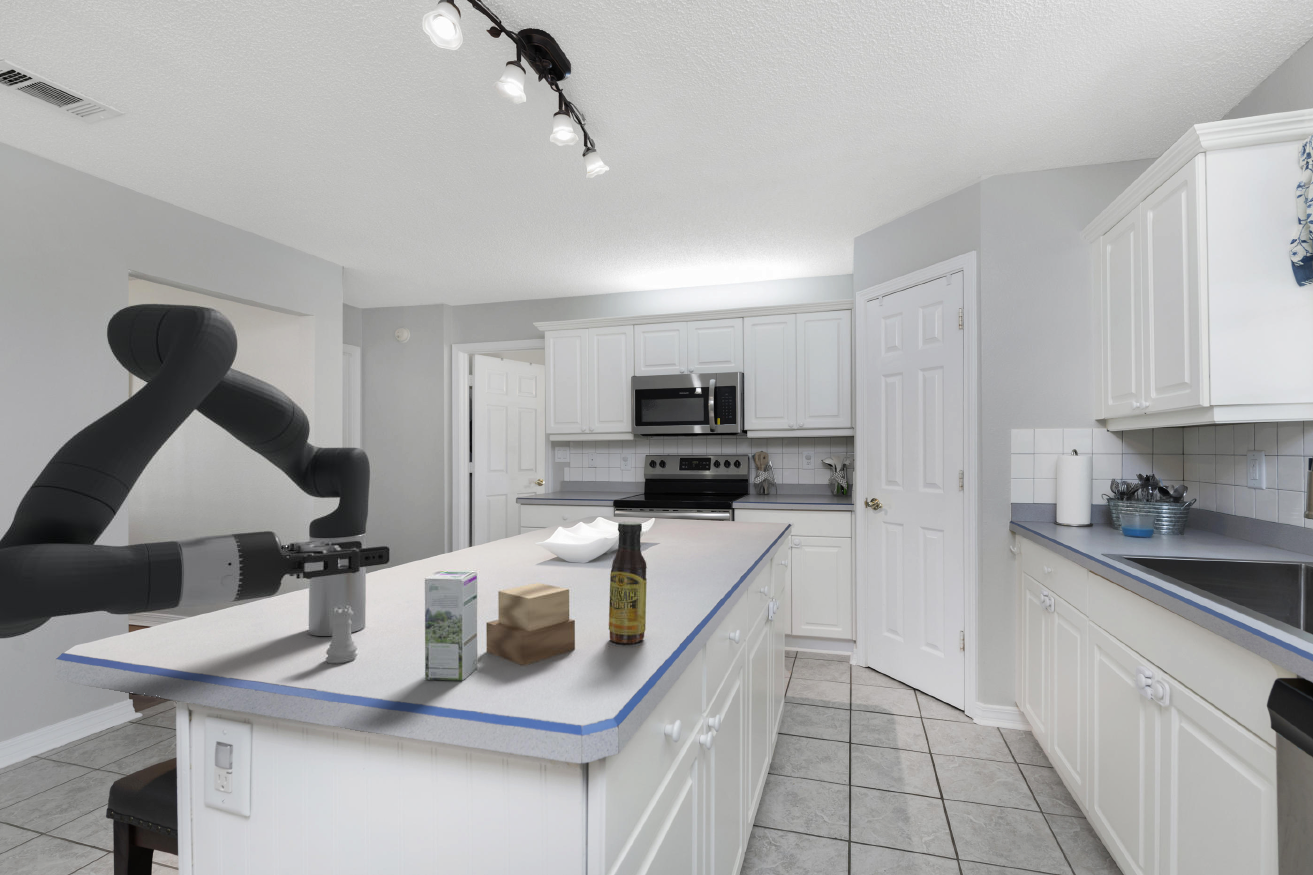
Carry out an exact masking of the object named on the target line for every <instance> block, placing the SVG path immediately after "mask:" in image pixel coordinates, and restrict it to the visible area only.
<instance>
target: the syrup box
mask: <svg viewBox="0 0 1313 875" xmlns="http://www.w3.org/2000/svg"><path fill="white" fill-rule="evenodd" d="M424 665H425V666H424V668H425V669H424V674H425V675H424V677H425V678H424V679H425V680H426V681H427V680H429V681H430V680H431V681H464V680H465V679H466V678H468V677H469V676H470V675H472V673H473V672H475V671H476V670H477V669H478V666H479V657H478V572H477V571H476V570H474V571H473V570H464V571H463V570H439V571H436V572H433V573H432V574H430V575H428V576H427V577H425V578H424Z"/></svg>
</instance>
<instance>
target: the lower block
mask: <svg viewBox="0 0 1313 875" xmlns="http://www.w3.org/2000/svg"><path fill="white" fill-rule="evenodd" d="M575 621H576V620H575V619H571V618H569V620H568V621H565V622H561V623H558V624H554V625H551V626H547V627H544V628H540V629H537V630H533V631H526V630H523V629H519V628H516V627H512V626H509V625H505V624H502V623H499V619H496V620H491V621H488V622H485V623H486V626H485V628H486V653H489V654H492V655H493V656H494V655H495V656H497V657H499V658H502V659H504V660H508V661H510V662H513V663H516V664H518V665H521V666H527V665H529V664H530V665H531V664H534V663H537V662H539V661H543V660H546V659H549V658H552V657H555V656H558V655H561V654H565V653H569V652H571V651H574V650H576V625H575V624H576V622H575Z"/></svg>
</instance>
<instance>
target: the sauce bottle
mask: <svg viewBox="0 0 1313 875" xmlns="http://www.w3.org/2000/svg"><path fill="white" fill-rule="evenodd" d="M617 526H618V527H617V531H618V545H617V546H618V548H617V551H616V553H615V556H614V558H613V560H612V564H611V569H610V577H609V603H608V604H609V609H608V610H609V612H608V630H609V640H611V641H612V642H614V643H617V644H630V645H631V644H636V643H640V642H641V641H643V640H644V638H645V632H646V624H647V623H646V621H647V619H646V618H647V617H646V616H647V584H648V583H647V569H648V567H647V561H646V559H645V557H644V556H643V555H642V551H641V547H642V545H641V533H642V530H643V524H642V523H641V522H637V521H619V522H618V525H617Z"/></svg>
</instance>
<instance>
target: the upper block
mask: <svg viewBox="0 0 1313 875" xmlns="http://www.w3.org/2000/svg"><path fill="white" fill-rule="evenodd" d="M497 593H498V594H497V595H498V596H497V598H498V600H497V601H498V603H497V605H498V606H497V607H498V608H497V609H498V610H497V611H498V620H499V623H502V624H505V625H509V626H512V627H516V628H519V629H523V630H526V631H533V630H537V629H540V628H544V627H547V626H551V625H554V624H558V623H561V622H565V621H568V620H569V619H570V589H569V588H565V587H561V586H556V585H550V584H545V583H540V582H535V583H531V584H530V583H529V584H526V585H522V586H516V587H512V588H508V589H502V590H499V591H497Z"/></svg>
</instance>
